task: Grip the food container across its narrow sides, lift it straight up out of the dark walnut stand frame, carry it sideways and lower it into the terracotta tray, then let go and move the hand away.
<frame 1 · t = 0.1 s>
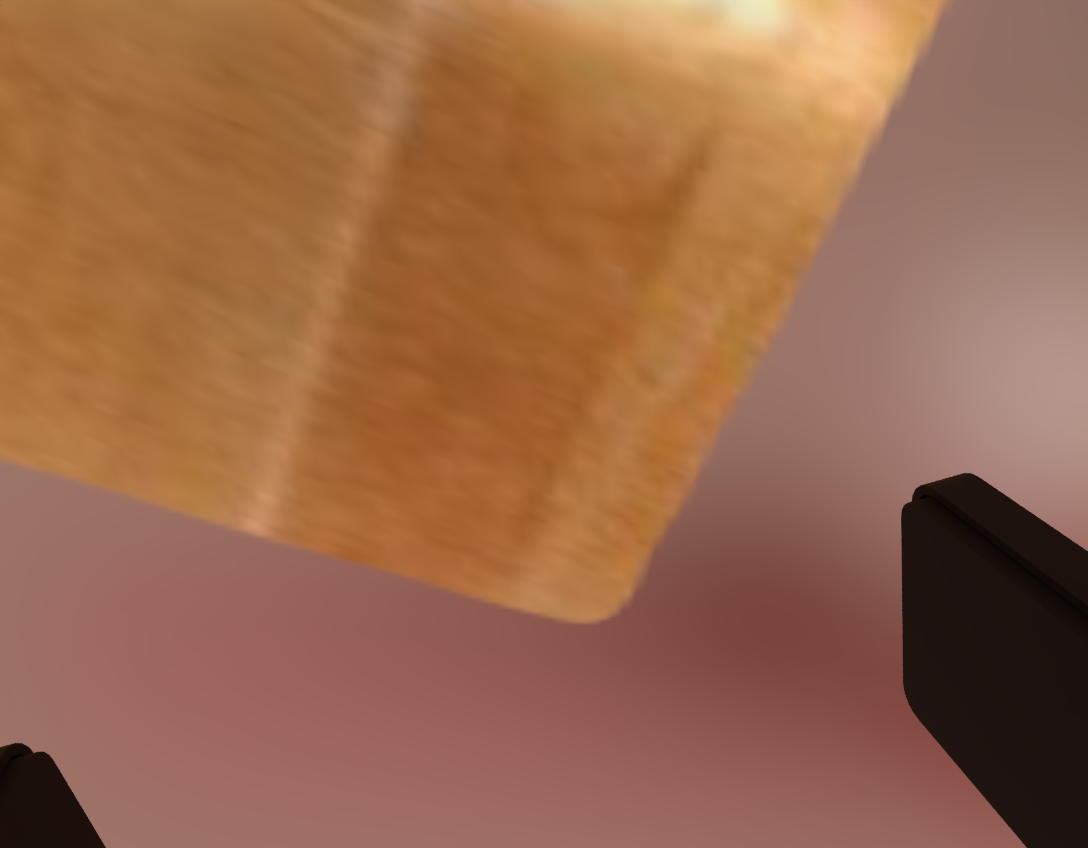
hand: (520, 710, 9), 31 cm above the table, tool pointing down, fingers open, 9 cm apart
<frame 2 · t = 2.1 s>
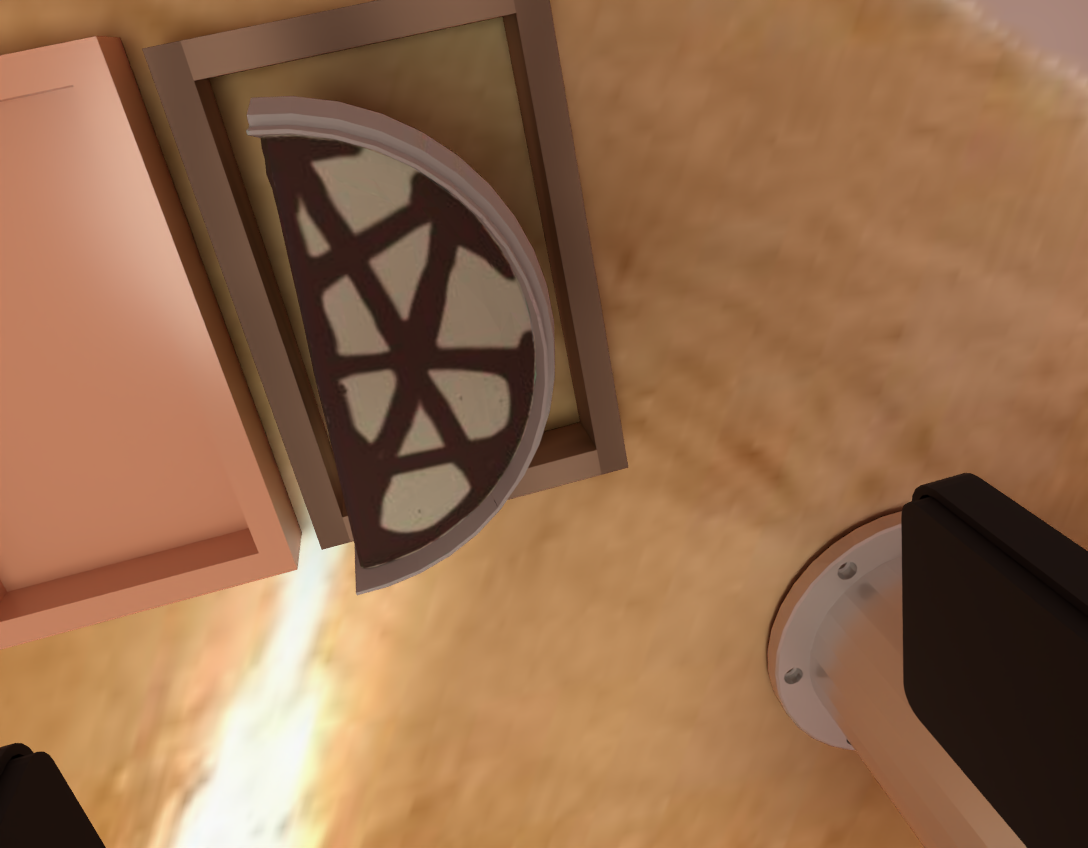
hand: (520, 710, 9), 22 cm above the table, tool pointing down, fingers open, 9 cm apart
walnut stand frame: (416, 270, 29), on the table
food container: (415, 268, 29), on the table
terracotta tray: (51, 357, 28), on the table
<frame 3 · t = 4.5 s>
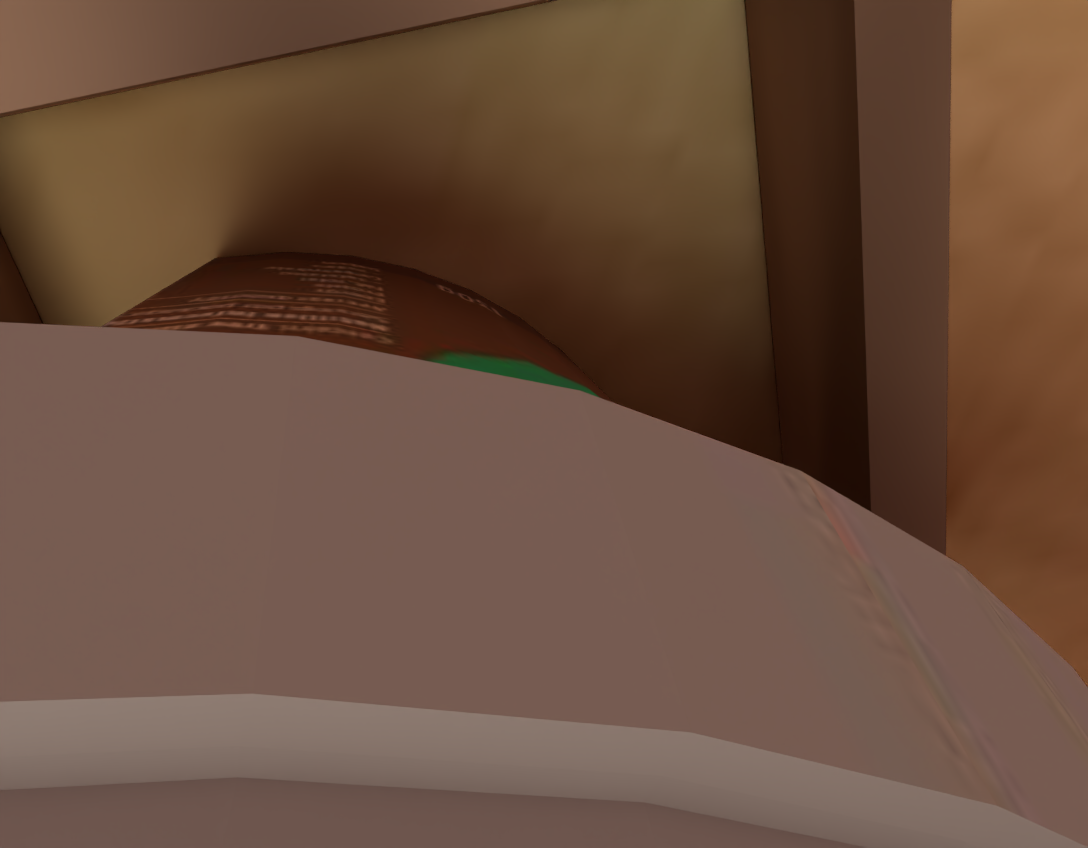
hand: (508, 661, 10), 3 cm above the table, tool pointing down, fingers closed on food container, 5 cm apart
walnut stand frame: (496, 554, 13), on the table
food container: (516, 532, 13), on the table, touching gripper
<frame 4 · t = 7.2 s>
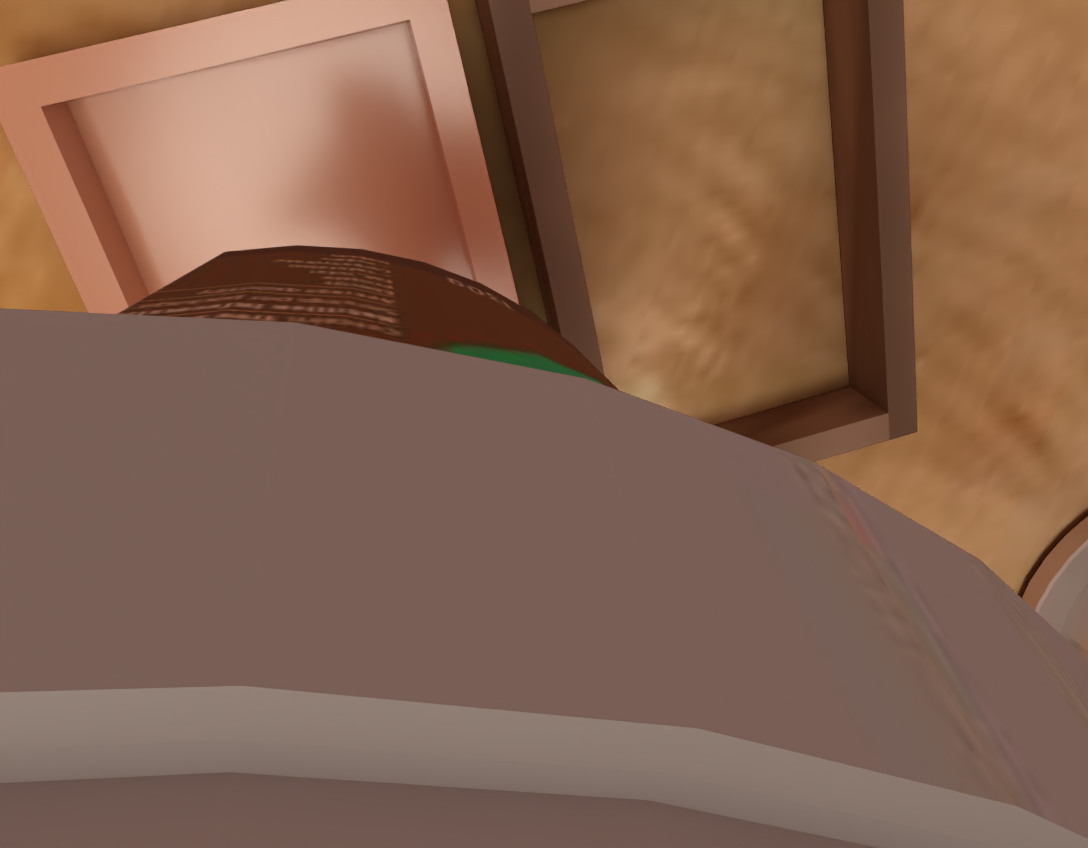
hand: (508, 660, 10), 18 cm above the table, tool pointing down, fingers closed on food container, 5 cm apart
walnut stand frame: (703, 224, 27), on the table
food container: (527, 527, 13), point 15 cm above the table, touching gripper
terracotta tray: (330, 323, 26), on the table
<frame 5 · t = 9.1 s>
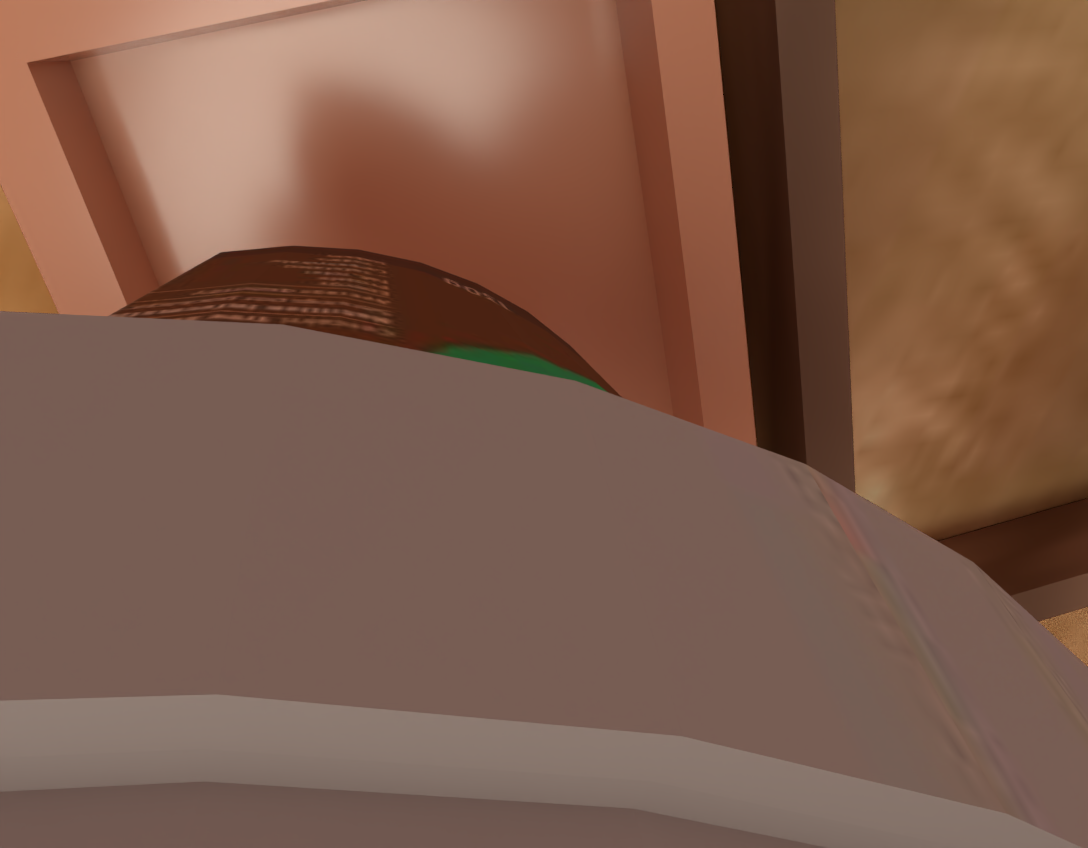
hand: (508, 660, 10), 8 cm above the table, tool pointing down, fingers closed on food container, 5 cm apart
walnut stand frame: (980, 266, 19), on the table
food container: (524, 527, 13), point 6 cm above the table, touching gripper
terracotta tray: (451, 401, 18), on the table
when the fingers open (4 cm above the table, at t = 10.3 s): food container drops 1 cm, resting on terracotta tray.
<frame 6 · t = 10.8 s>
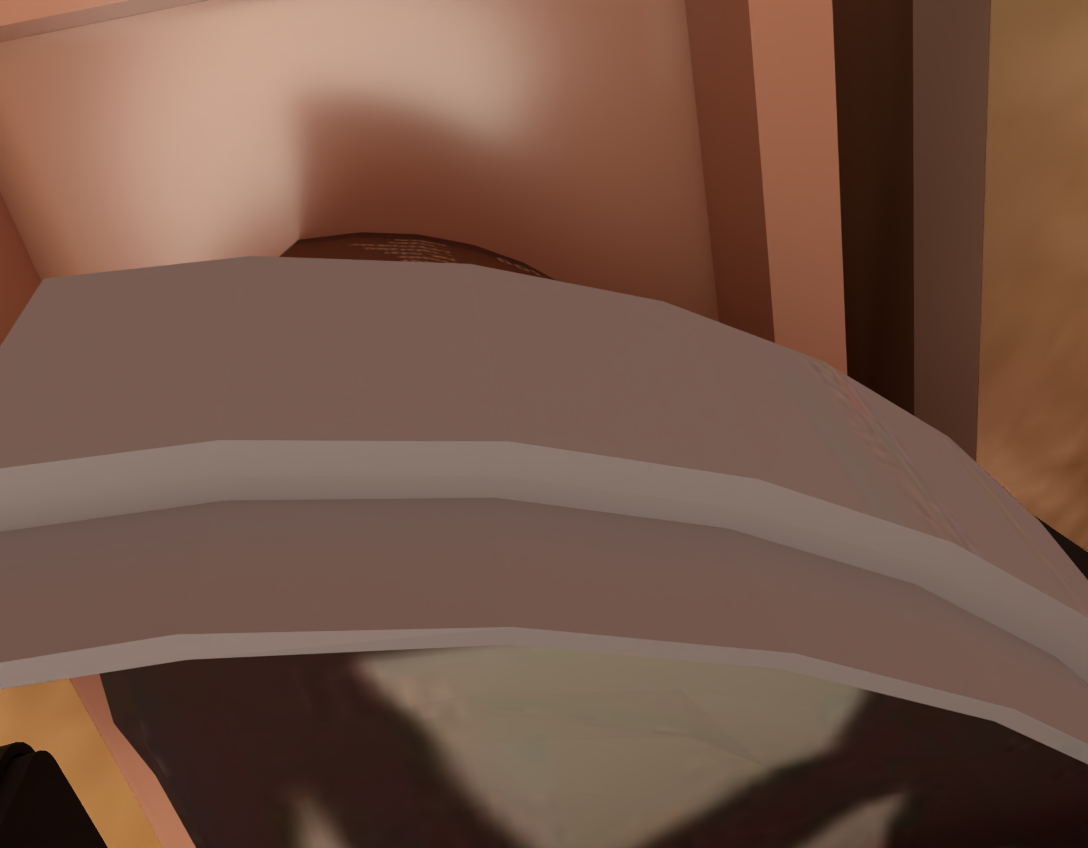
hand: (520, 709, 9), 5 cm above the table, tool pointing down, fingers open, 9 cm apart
food container: (566, 484, 14), resting on terracotta tray, touching gripper
terracotta tray: (460, 487, 14), on the table
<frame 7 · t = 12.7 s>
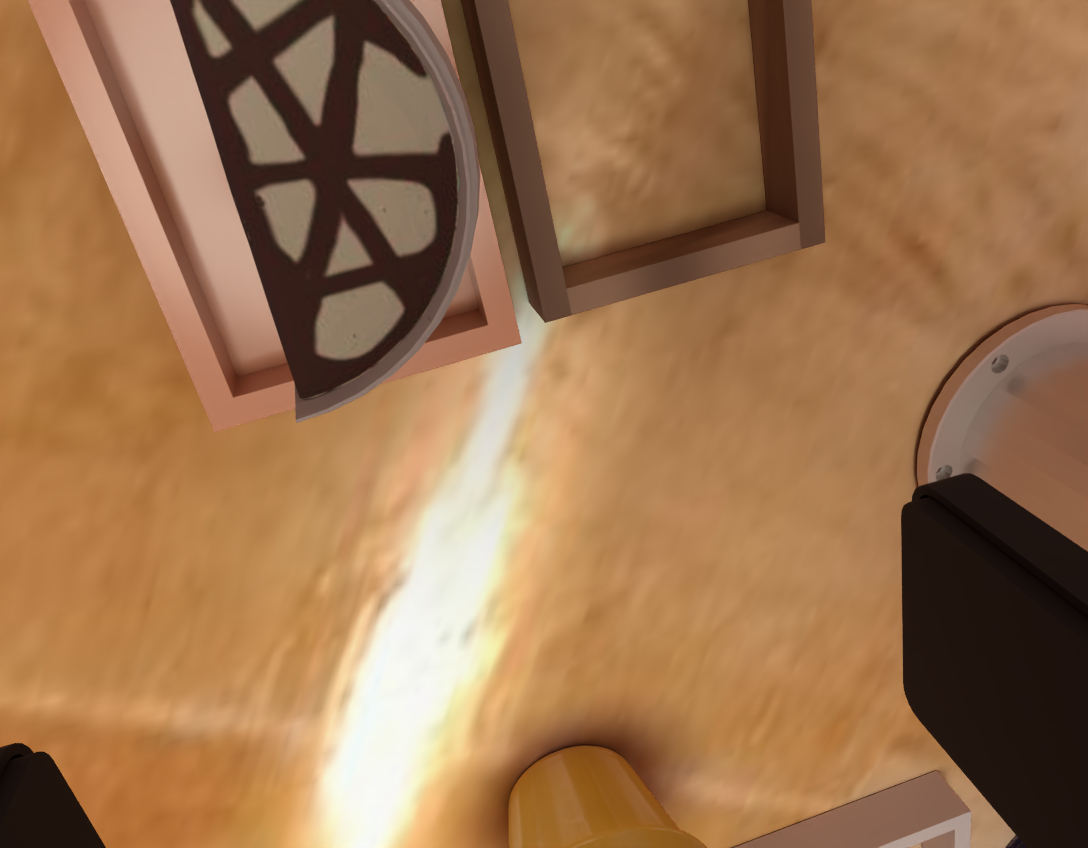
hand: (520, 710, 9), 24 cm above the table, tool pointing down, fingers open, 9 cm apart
walnut stand frame: (631, 46, 30), on the table
food container: (343, 127, 29), resting on terracotta tray
plant pot: (570, 791, 44), on the table
terracotta tray: (291, 130, 28), on the table
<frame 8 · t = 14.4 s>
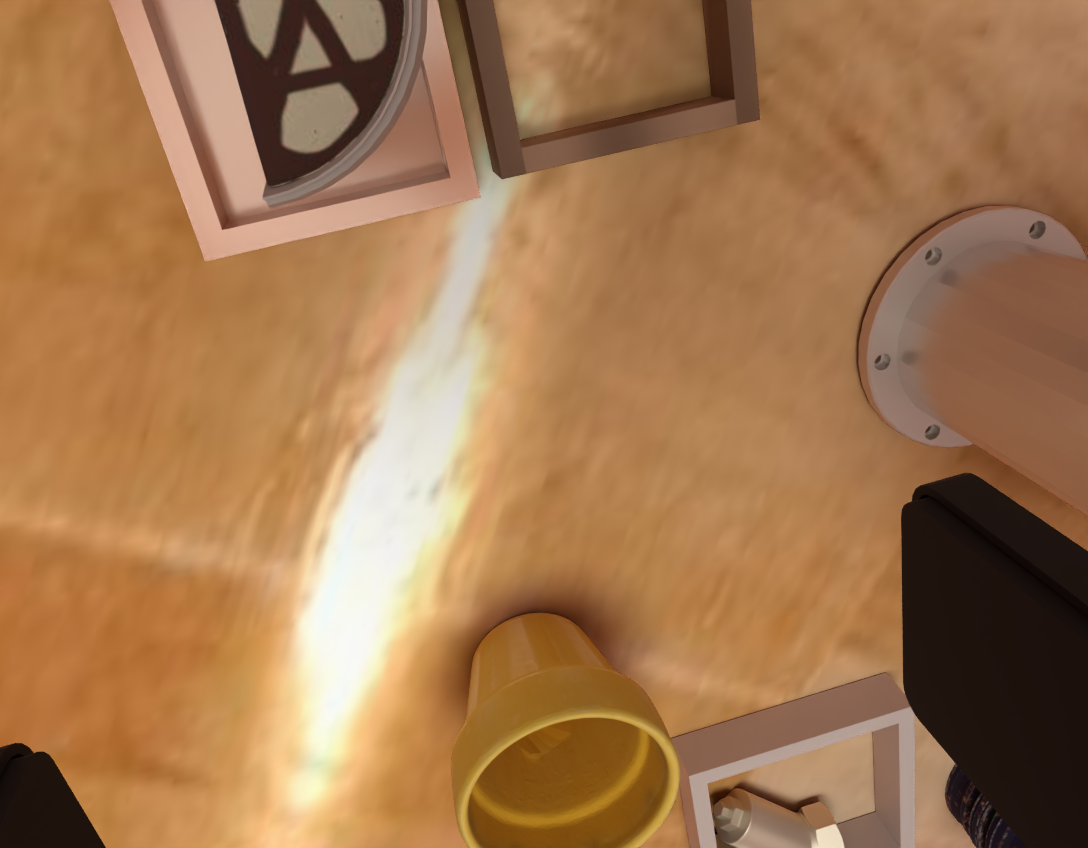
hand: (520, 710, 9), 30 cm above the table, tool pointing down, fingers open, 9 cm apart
pipe fitting: (757, 806, 56), on the table
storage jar: (1006, 770, 60), on the table
plant pot: (530, 660, 48), on the table
grey parts rim: (787, 780, 55), on the table
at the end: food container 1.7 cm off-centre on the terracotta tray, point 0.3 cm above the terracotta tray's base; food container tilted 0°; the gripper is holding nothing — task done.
